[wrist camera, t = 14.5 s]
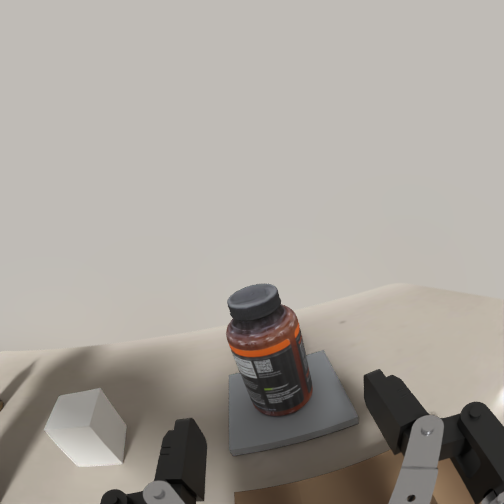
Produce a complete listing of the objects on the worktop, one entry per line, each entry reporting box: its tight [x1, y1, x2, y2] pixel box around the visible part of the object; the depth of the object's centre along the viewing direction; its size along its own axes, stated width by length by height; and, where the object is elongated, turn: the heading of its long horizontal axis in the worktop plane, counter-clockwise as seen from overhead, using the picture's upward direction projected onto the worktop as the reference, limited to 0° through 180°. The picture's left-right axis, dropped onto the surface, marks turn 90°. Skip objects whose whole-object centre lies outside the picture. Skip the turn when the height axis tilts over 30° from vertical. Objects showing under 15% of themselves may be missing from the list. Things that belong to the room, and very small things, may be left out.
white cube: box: [44, 388, 127, 467], centre depth 20 cm, size 6×6×6 cm
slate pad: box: [229, 350, 358, 456], centre depth 24 cm, size 11×11×1 cm
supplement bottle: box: [226, 284, 313, 416], centre depth 23 cm, size 6×6×11 cm
